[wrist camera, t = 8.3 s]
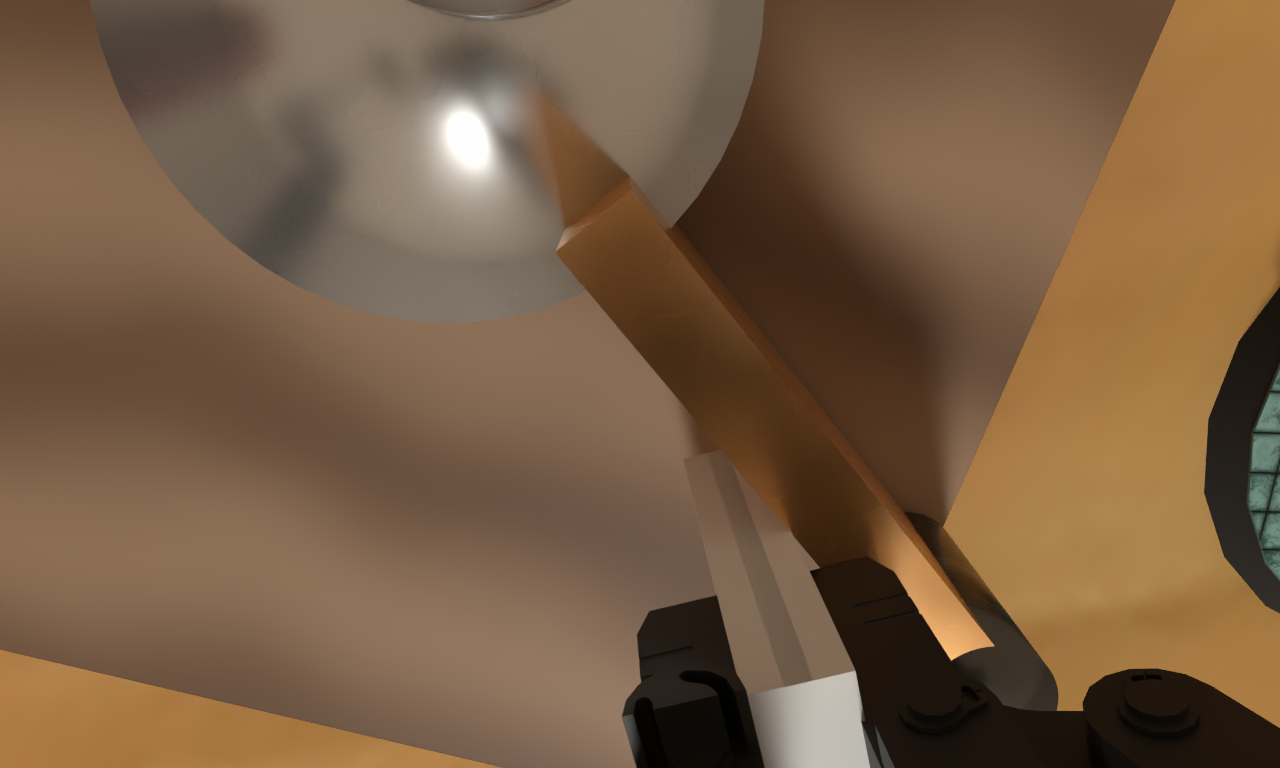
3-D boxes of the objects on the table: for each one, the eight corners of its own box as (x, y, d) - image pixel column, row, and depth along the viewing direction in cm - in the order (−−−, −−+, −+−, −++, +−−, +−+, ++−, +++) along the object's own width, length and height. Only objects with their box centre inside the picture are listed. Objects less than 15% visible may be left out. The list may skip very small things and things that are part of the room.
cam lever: (1273, 354, 17) (1506, 447, 12) (743, 714, 19) (780, 903, 14) (649, -662, 12) (665, -1082, 8) (46, -42, 14) (-208, -100, 10)
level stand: (789, 773, 22) (808, 849, 20) (-188, 537, 19) (-290, 593, 17) (1284, -395, 15) (1398, -479, 13) (-122, -972, 13) (-277, -1194, 10)
